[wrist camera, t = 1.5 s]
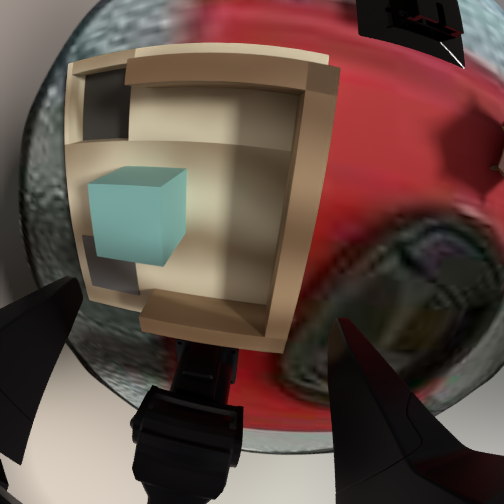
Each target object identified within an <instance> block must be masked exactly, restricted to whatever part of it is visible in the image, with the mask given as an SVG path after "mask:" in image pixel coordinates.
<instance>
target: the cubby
mask: <svg viewBox="0 0 504 504" xmlns="http://www.w3.org/2000/svg"><path fill="white" fill-rule="evenodd" d="M339 77H340V68H339V67H335V66H330V65H326V64H321V63H316V62H310V61H304V60H298V59H292V58H285V57H277V56H268V55H257V54H243V53H212V52H208V53H177V54H163V55H153V56H144V57H136V58H129V59H127V65H126V74H125V85H130V86H138V87H145V88H169V87H217V88H236V89H249V90H260V91H269V92H277V93H285V94H292V95H298V104H297V112H296V119H295V127H294V134H293V141H292V148H291V155H290V162H289V169H288V176H287V183H286V189H285V196H284V203H283V209H282V215H281V222H280V228H279V234H278V240H277V246H276V252H275V258H274V264H273V270H272V276H271V282H270V288H269V293H268V299H267V305H264V304H256V303H248V302H240V301H233V300H225V299H218V298H211V297H205V296H198V295H192V294H185V293H179V292H173V291H167V290H162V289H156V288H155V289H154V291H153V292H152V294H151V296H150V297H149V299H148V301H147V303H146V304H145V306H144V308H143V310H142V311H141V313H140V315H139V321H140V325H141V330H142V331H144V332H149V333H153V334H158V335H162V336H167V337H172V338H177V339H183V340H188V341H194V342H199V343H205V344H211V345H218V346H225V347H232V348H239V349H247V350H255V351H264V352H273V353H283V351H284V347H285V344H286V340H287V337H288V333H289V330H290V326H291V322H292V319H293V315H294V311H295V307H296V303H297V299H298V295H299V292H300V288H301V283H302V279H303V275H304V271H305V267H306V263H307V258H308V254H309V250H310V245H311V241H312V236H313V231H314V227H315V222H316V217H317V212H318V208H319V203H320V197H321V192H322V187H323V182H324V176H325V171H326V165H327V159H328V154H329V148H330V141H331V135H332V129H333V122H334V115H335V108H336V101H337V93H338V85H339Z"/></svg>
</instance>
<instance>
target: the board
mask: <svg viewBox="0 0 504 504" xmlns="http://www.w3.org/2000/svg"><path fill="white" fill-rule="evenodd" d="M208 52H212V53H243V54H257V55H268V56H277V57H285V58H292V59H298V60H304V61H310V62H316V63H321V64H326V65H328V61H329V55H325V54H321V53H316V52H310V51H304V50H298V49H292V48H284V47H276V46H267V45H256V44H240V43H188V44H172V45H161V46H152V47H144V48H137V49H131V50H125V51H119V52H114V53H109V54H104V55H100V56H96V57H91V58H87V59H84V60H80V61H76V62H73V63H69V65H68V73H67V84H66V97H65V162H66V177H67V188H68V197H69V205H70V212H71V219H72V225H73V231H74V237H75V242H76V247H77V252H78V257H79V261H80V266H81V270H82V274H83V278H84V282H85V286H86V290H87V293H88V297H89V300H92V301H95V302H99V303H103V304H107V305H112V306H116V307H120V308H124V309H129V310H133V311H138V312H141V311H142V310H143V308H144V306H145V304H146V303H147V301H148V299H149V297H150V296H151V294H152V292H153V291H154V289H155V288H156V289H162V290H167V291H173V292H179V293H185V294H192V295H198V296H205V297H211V298H218V299H225V300H233V301H240V302H248V303H256V304H264V305H267V299H268V293H269V288H270V282H271V276H272V270H273V264H274V258H275V252H276V246H277V240H278V234H279V228H280V222H281V215H282V209H283V203H284V196H285V189H286V183H287V176H288V169H289V162H290V155H291V148H292V141H293V134H294V127H295V119H296V112H297V104H298V95H292V94H285V93H277V92H269V91H260V90H249V89H236V88H217V87H169V88H145V87H138V86H130V85H125V74H126V65H127V59H129V58H136V57H144V56H153V55H163V54H177V53H208ZM124 166H147V167H170V168H187V187H186V233H185V235H184V236H183V238H182V239H181V241H180V242H179V244H178V245H177V247H176V248H175V250H174V251H173V253H172V254H171V256H170V258H169V259H168V261H167V262H166V264H165V265H164V267H161V266H154V265H148V264H141V263H135V262H129V261H123V260H117V259H111V258H105V257H99V256H97V252H96V247H95V241H94V234H93V228H92V220H91V212H90V203H89V193H88V183H90V182H92V181H94V180H96V179H98V178H100V177H102V176H105V175H107V174H109V173H111V172H113V171H115V170H118V169H120V168H122V167H124Z"/></svg>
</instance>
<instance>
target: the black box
mask: <svg viewBox="0 0 504 504" xmlns="http://www.w3.org/2000/svg"><path fill="white" fill-rule="evenodd" d="M356 6H357V18H358V33H359V35H360V36H364V37H369V38H373V39H378V40H382V41H386V42H390V43H394V44H397V45H401V46H404V47H408V48H411V49H414V50H417V51H420V52H423V53H426V54H429V55H432V56H434V57H437V58H440V59H442V60H445V61H447V62H450V63H452V64H455V65H457V66H459V67H461V68H465V61H464V52H463V44H462V38H461V34H464V31H463V25H462V20H461V15H460V10H459V6H458V1H457V0H356Z"/></svg>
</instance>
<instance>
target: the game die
mask: <svg viewBox="0 0 504 504" xmlns="http://www.w3.org/2000/svg"><path fill="white" fill-rule="evenodd" d="M502 129H503V132H504V127H503V126H502ZM490 169H491V170H493V171H494V170H495V171H496V170H499V171H500V173H501V174H502V176H503V177H504V147H503V151H502V154H501V157H500V160H499V163H498V165H497V166H496V165H492V166H491V167H490Z"/></svg>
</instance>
